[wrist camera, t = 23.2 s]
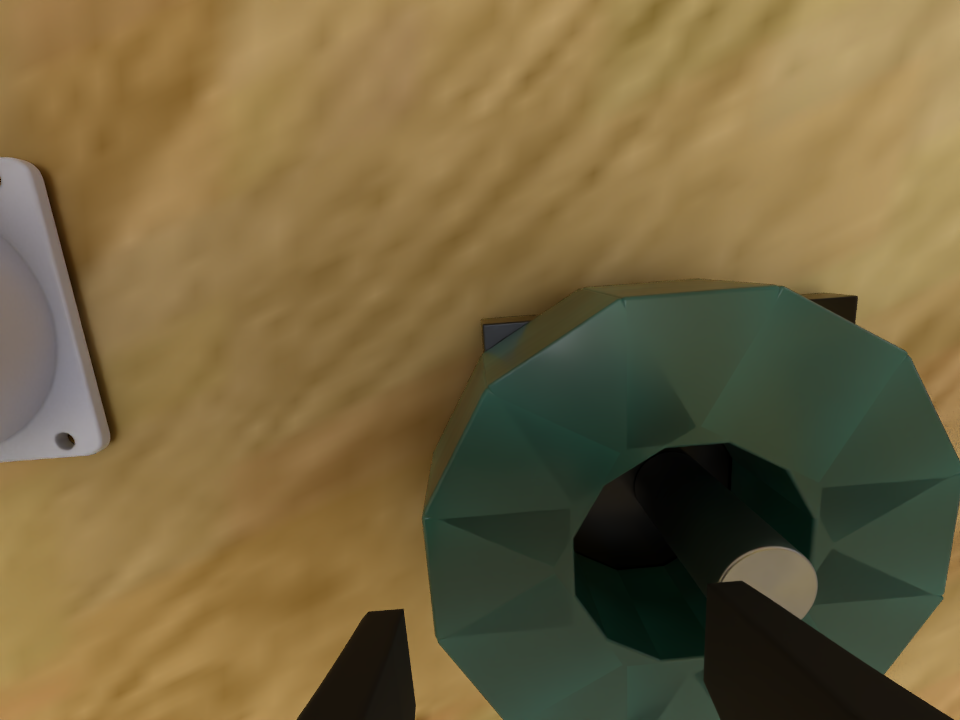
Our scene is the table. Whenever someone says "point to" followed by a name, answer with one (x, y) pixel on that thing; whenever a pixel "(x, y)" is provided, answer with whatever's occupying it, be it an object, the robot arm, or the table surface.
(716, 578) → the peg stand
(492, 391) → the ring
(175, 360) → the table surface
